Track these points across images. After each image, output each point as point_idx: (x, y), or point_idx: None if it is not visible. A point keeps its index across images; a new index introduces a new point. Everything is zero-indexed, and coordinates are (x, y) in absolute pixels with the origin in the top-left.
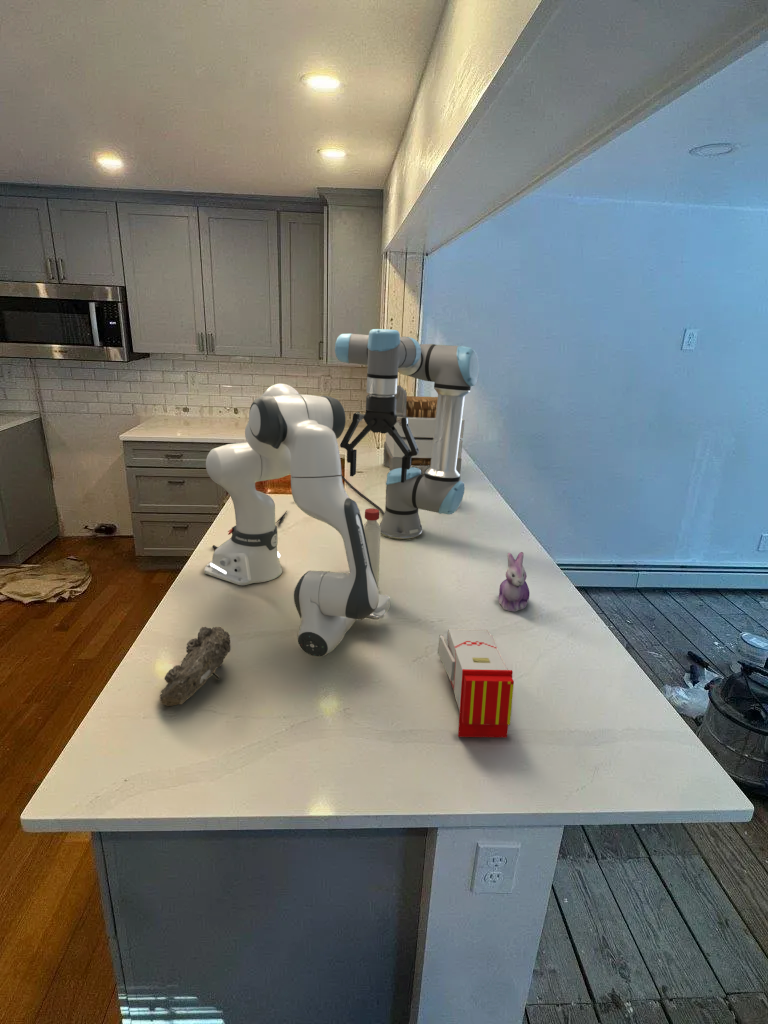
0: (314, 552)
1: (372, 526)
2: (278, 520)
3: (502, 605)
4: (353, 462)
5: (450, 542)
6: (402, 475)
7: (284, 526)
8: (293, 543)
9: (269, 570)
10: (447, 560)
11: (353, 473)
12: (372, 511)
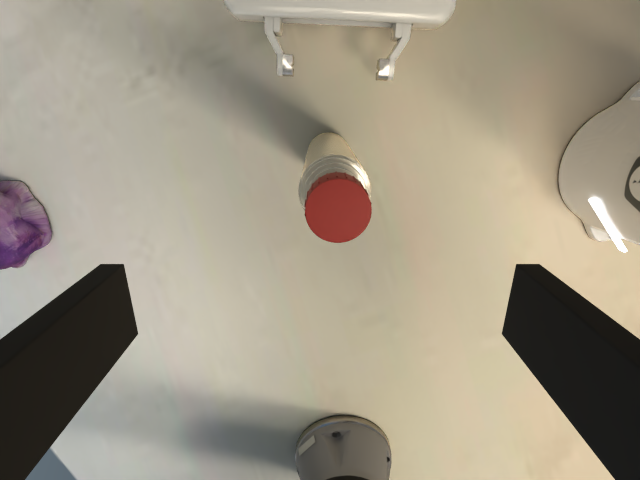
0: (505, 305)
1: (325, 171)
2: None
3: (28, 193)
4: (589, 342)
5: (229, 438)
6: (78, 290)
7: None
8: None
9: (597, 139)
10: (210, 361)
11: (522, 290)
12: (334, 202)
